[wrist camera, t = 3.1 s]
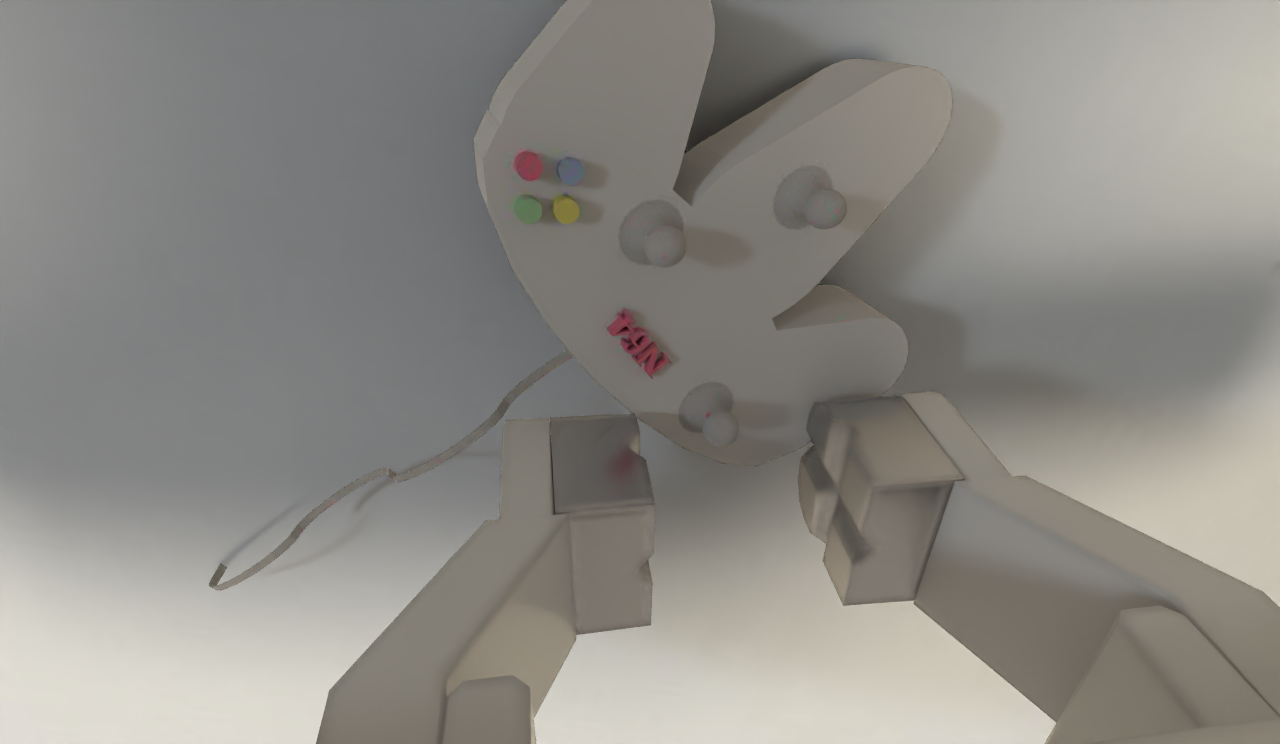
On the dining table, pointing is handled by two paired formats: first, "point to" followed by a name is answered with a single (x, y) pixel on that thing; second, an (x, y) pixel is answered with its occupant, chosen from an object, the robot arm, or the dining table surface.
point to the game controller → (693, 227)
